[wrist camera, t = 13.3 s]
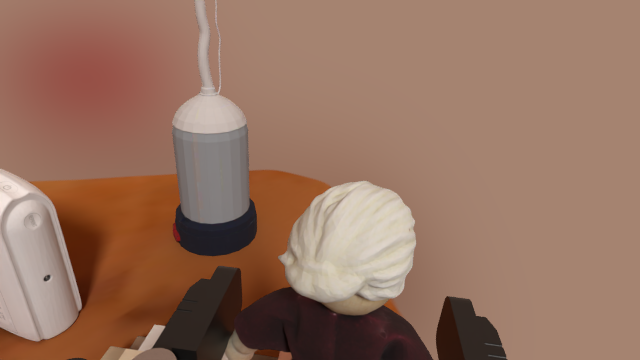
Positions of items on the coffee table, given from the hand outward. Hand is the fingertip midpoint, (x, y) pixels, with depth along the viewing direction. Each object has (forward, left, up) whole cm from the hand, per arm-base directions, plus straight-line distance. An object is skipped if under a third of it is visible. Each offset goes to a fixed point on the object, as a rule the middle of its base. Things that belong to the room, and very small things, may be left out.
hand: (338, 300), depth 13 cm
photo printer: (-24, +9, -14) cm, 30 cm away
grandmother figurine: (0, -2, -7) cm, 8 cm away
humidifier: (-13, +22, -14) cm, 30 cm away
